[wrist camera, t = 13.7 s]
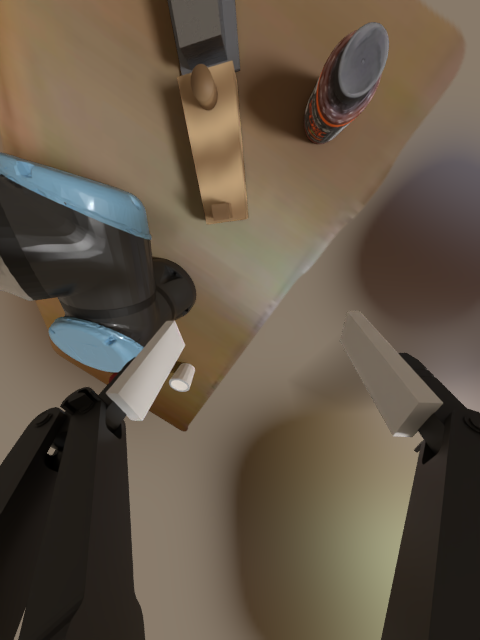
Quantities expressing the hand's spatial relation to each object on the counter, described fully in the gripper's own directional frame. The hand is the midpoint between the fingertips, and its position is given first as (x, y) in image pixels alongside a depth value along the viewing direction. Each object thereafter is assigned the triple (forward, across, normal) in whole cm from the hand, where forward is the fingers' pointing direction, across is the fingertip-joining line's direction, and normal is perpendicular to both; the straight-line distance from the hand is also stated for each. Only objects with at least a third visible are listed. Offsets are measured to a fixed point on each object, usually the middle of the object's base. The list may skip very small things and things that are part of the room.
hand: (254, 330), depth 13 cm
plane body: (+27, -5, +15) cm, 31 cm away
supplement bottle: (+27, +10, +18) cm, 34 cm away
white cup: (+27, -28, -36) cm, 53 cm away
